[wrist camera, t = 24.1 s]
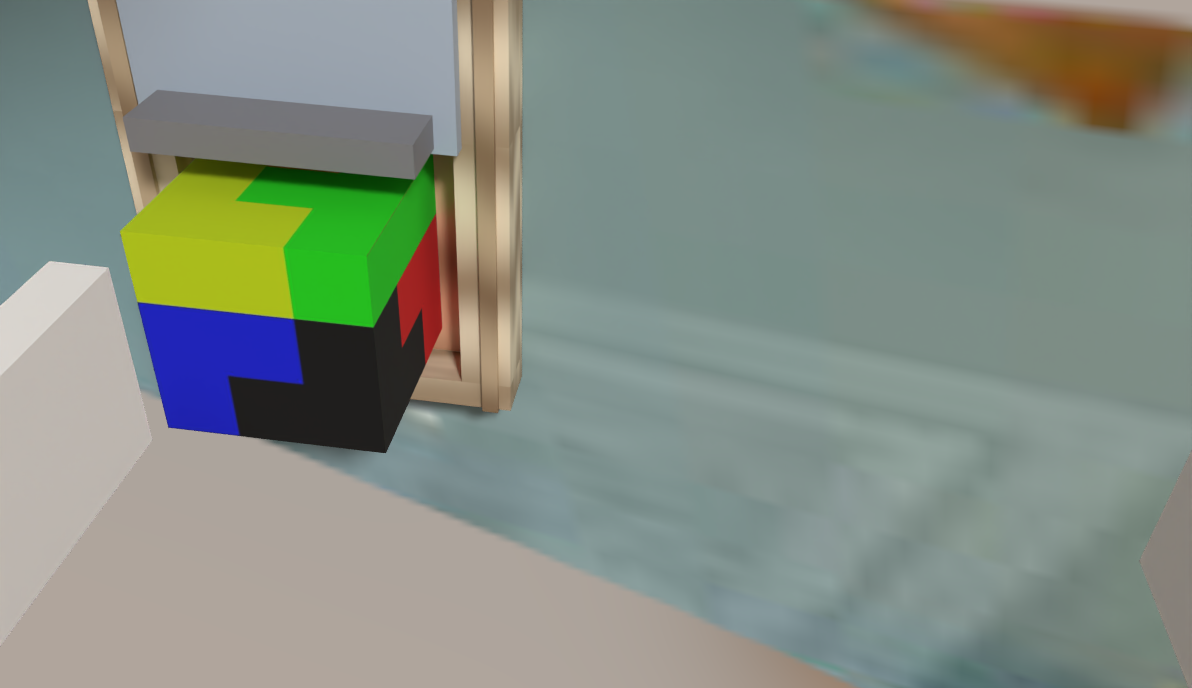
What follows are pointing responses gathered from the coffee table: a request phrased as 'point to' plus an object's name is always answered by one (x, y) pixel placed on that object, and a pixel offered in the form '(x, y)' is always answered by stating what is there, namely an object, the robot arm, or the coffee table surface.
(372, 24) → the lid
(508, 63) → the board
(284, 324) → the puzzle toy
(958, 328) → the coffee table surface
